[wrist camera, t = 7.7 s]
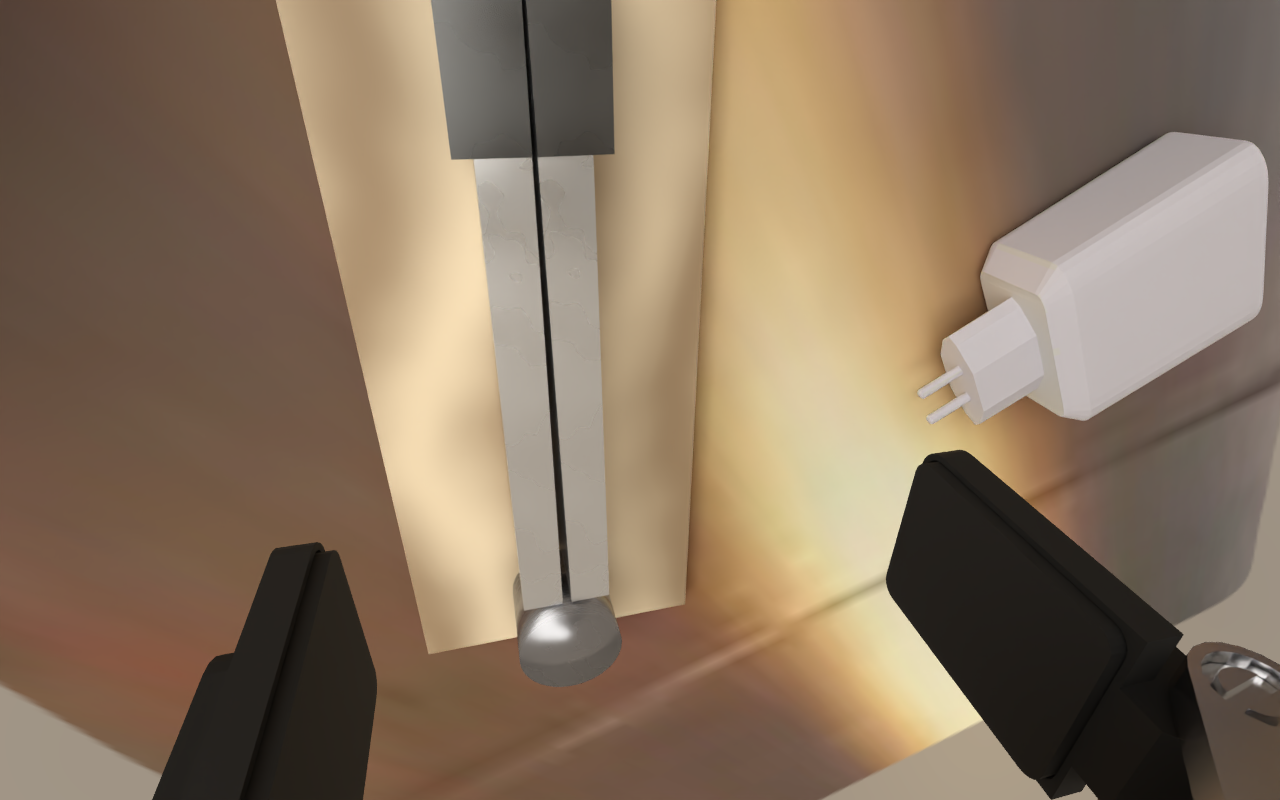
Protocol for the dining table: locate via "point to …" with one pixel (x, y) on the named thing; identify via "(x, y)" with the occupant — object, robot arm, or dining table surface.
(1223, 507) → the dining table surface
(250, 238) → the dining table surface
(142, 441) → the dining table surface
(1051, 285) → the charger
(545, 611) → the tongs hinge pin
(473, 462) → the oak board
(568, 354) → the tongs leg
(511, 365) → the tongs leg
